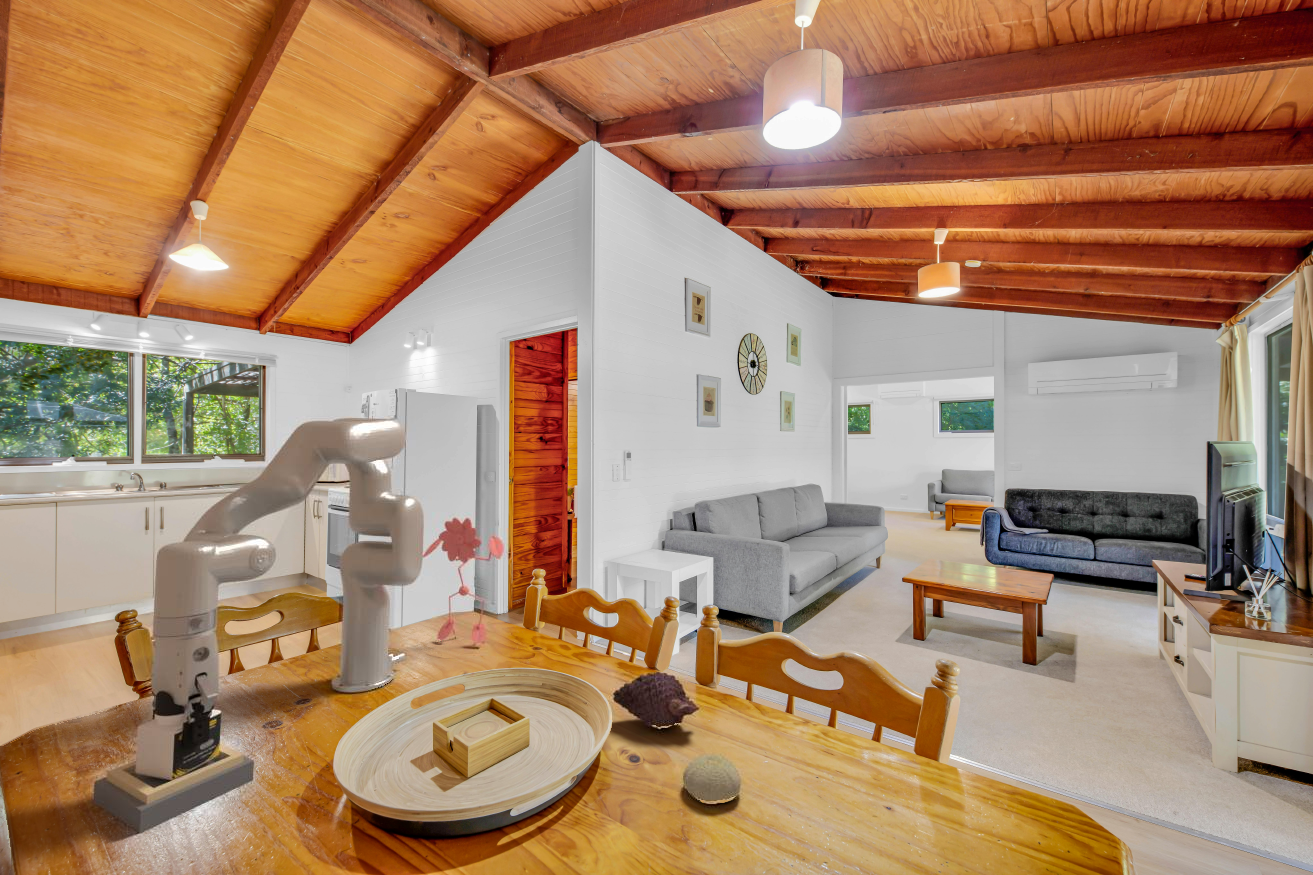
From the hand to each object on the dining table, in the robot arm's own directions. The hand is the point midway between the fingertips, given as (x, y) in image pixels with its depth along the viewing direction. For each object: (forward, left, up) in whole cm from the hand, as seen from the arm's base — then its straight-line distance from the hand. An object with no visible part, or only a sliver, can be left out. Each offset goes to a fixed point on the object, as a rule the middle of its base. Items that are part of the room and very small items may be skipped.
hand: (180, 737), depth 85 cm
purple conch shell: (-54, +55, -8) cm, 77 cm away
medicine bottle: (0, 0, -4) cm, 4 cm away
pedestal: (0, 0, -8) cm, 8 cm away
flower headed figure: (-66, -11, -8) cm, 67 cm away
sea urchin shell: (-39, +72, -8) cm, 82 cm away
